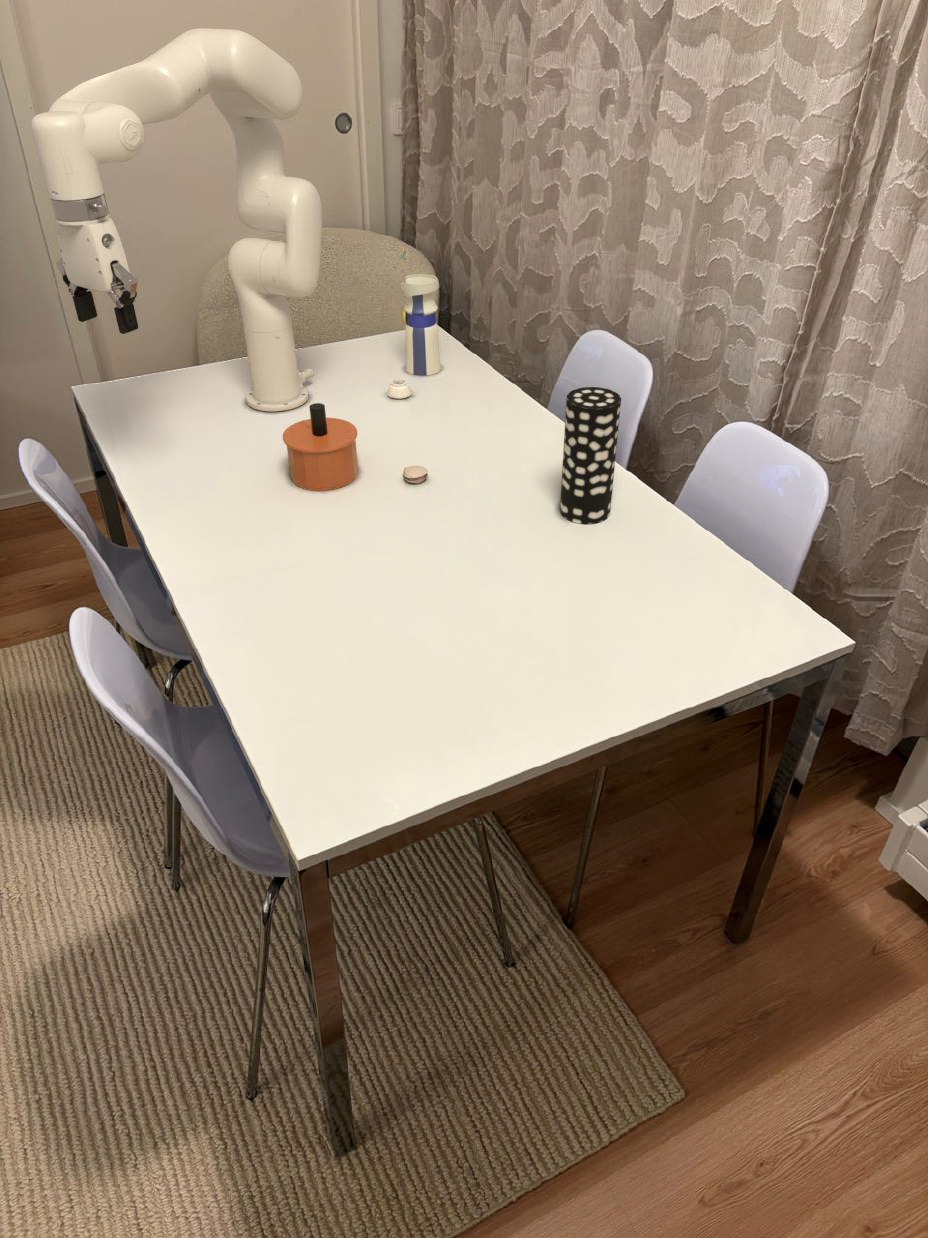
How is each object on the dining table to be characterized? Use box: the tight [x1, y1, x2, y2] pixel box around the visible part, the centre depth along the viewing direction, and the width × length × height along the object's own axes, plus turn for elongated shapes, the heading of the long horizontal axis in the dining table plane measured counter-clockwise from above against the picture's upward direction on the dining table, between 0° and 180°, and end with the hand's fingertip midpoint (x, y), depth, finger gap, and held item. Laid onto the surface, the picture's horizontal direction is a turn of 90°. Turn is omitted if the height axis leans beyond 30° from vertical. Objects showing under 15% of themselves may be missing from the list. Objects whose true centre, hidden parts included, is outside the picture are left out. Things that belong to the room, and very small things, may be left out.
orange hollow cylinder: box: [286, 439, 359, 492], centre depth 164 cm, size 12×12×8 cm
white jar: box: [386, 378, 413, 400], centre depth 193 cm, size 5×3×5 cm
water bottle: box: [398, 247, 442, 377], centre depth 197 cm, size 8×9×25 cm
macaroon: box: [402, 465, 429, 484], centre depth 164 cm, size 4×5×2 cm
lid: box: [282, 402, 358, 453], centre depth 160 cm, size 13×13×6 cm
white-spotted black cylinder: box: [559, 386, 622, 525], centre depth 149 cm, size 8×8×20 cm
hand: (108, 324), depth 146 cm, fingers open, 9 cm apart
